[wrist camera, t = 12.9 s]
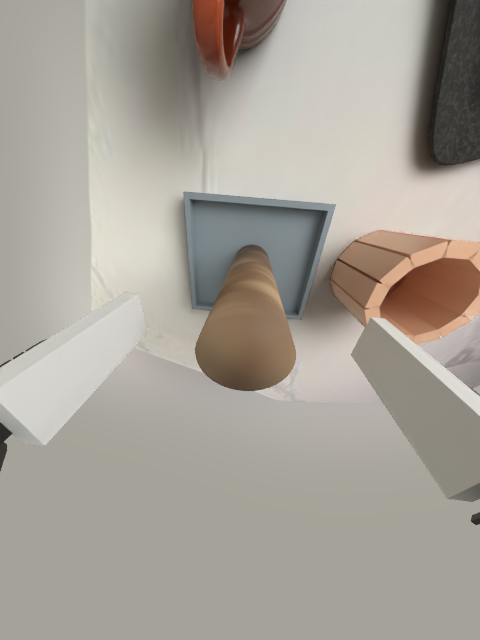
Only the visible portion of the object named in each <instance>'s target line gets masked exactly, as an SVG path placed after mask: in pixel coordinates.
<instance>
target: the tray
mask: <svg viewBox="0 0 480 640" xmlns="http://www.w3.org/2000/svg"><path fill="white" fill-rule="evenodd" d="M183 193H184V206H185V220H186V233H187V246H188V259H189V273H190V286H191V299H192V309H200V310H210V311H211V309H212V307H213V305H214V303H215V300H216V298H217V296H218V294H219V292H220V289H221V287H222V285H223V283H224V281H225V278H226V276H227V274H228V272H229V270H230V267H231V265H232V263H233V261H234V259H235V256H236V254H237V253H238V251H239V250H240V249H241V248H242V247H244V246H246V245H250V244H254V245H258V246H260V247H262V248H263V249H264V250H265V251H266V253H267V255H268V258H269V261H270V265H271V268H272V271H273V275H274V278H275V282H276V285H277V288H278V292H279V295H280V299H281V302H282V305H283V309H284V312H285V316H286V318H290V319H300V320H302V316H303V313H304V310H305V306H306V303H307V300H308V296H309V293H310V290H311V286H312V283H313V280H314V276H315V273H316V269H317V266H318V263H319V259H320V256H321V253H322V249H323V246H324V243H325V239H326V236H327V233H328V229H329V226H330V223H331V219H332V216H333V213H334V209H335V206H336V204H324V203H312V202H300V201H288V200H276V199H264V198H253V197H241V196H229V195H217V194H205V193H193V192H183Z"/></svg>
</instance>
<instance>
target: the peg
mask: <svg viewBox="0 0 480 640" xmlns="http://www.w3.org/2000/svg"><path fill="white" fill-rule="evenodd" d="M195 354H196V359H197V362H198V364H199V366H200V368H201V369H202V371H203V372H204V373H205V374H206V375H207V376H208V377H209V378H210V379H212V380H213V381H214V382H216V383H218V384H220V385H222V386H224V387H228V388H231V389H235V390H242V391H255V390H261V389H265V388H269V387H271V386H274V385H276V384H277V383H279V382H281V381H282V380H283V379H284V378H286V377H287V376H288V374H289V373H290V372H291V370H292V369H293V366H294V364H295V360H296V351H295V346H294V343H293V339H292V336H291V333H290V329H289V326H288V322H287V319H286V316H285V312H284V309H283V305H282V302H281V299H280V295H279V292H278V288H277V285H276V282H275V278H274V275H273V271H272V268H271V265H270V261H269V258H268V255H267V253H266V251H265V250H264V249H263V248H262V247H260V246H258V245H254V244H250V245H246V246H244V247H242V248H241V249H240V250H239V251H238V253H237V254H236V256H235V259H234V261H233V263H232V265H231V267H230V270H229V272H228V274H227V276H226V278H225V281H224V283H223V285H222V287H221V289H220V292H219V294H218V296H217V298H216V300H215V303H214V305H213V307H212V309H211V311H210V314H209V316H208V318H207V320H206V322H205V325H204V327H203V329H202V331H201V333H200V335H199V338H198V340H197V343H196V348H195Z"/></svg>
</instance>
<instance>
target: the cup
mask: <svg viewBox="0 0 480 640" xmlns="http://www.w3.org/2000/svg"><path fill="white" fill-rule="evenodd" d="M338 258H339V259H340V260H337V261H336V263H335V266H334V269H333V272H332V275H331V285H332V289H333V293H334V295H335V297H336V298H337V299H338V300H339V301H340V302H341V303H342V304H343V305H344V306H345V307H346V308H347V309H348V310H349V311H350V312H351V313H352V314H353V315H354V316H355V317H356V319H357V320H358V321H359V322H360V323H361V324H362V325H363V326H364V327H366V325H367V323H368V321H369V319H370V317H375V318H385V319H386V320H387V321H388V322H390V323H391V324H392V325H393V326H395V327H396V328H397V329H398V330H399V331H401V332H402V333H403V334H404V335H406V336H407V337H408V338H409V339H410V340H412V341H413V342H414V343H415V344H420V343H424V342H427V341H431V340H435V339H439V338H440V335H441V336H442V337H444V336H446V335H447V334H449V333H451V332H452V331H454V330H456V329H458V328H459V327H461V326H463V325H464V324H466V323H468V322H469V321H471V320H470V319H469V318H475V316H476V315H477V314H478V313H479V312H480V242H474V241H467V240H459V239H451V238H444V237H436V236H428V235H421V234H413V233H405V232H396V231H385V230H380V231H376V232H373V233H371V234H369V235H366V236H364V237H362V238H359V239H357V240H356V242H353V243H352V244H351V245H350V246H349V247H348V248H347V249H346V250H345V251H344V252H343V253H342V254H341V255H340V256H339V257H338Z"/></svg>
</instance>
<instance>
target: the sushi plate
mask: <svg viewBox="0 0 480 640" xmlns="http://www.w3.org/2000/svg"><path fill="white" fill-rule="evenodd" d="M430 152H431V157H432V159H433V161H434V162H436V163H438V164H440V165H453V164H459V163H464V162H469V161H472V160H476V159H480V0H452V3H451V9H450V14H449V20H448V26H447V32H446V37H445V43H444V49H443V54H442V60H441V66H440V71H439V77H438V83H437V89H436V95H435V101H434V107H433V115H432V122H431V131H430Z"/></svg>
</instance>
